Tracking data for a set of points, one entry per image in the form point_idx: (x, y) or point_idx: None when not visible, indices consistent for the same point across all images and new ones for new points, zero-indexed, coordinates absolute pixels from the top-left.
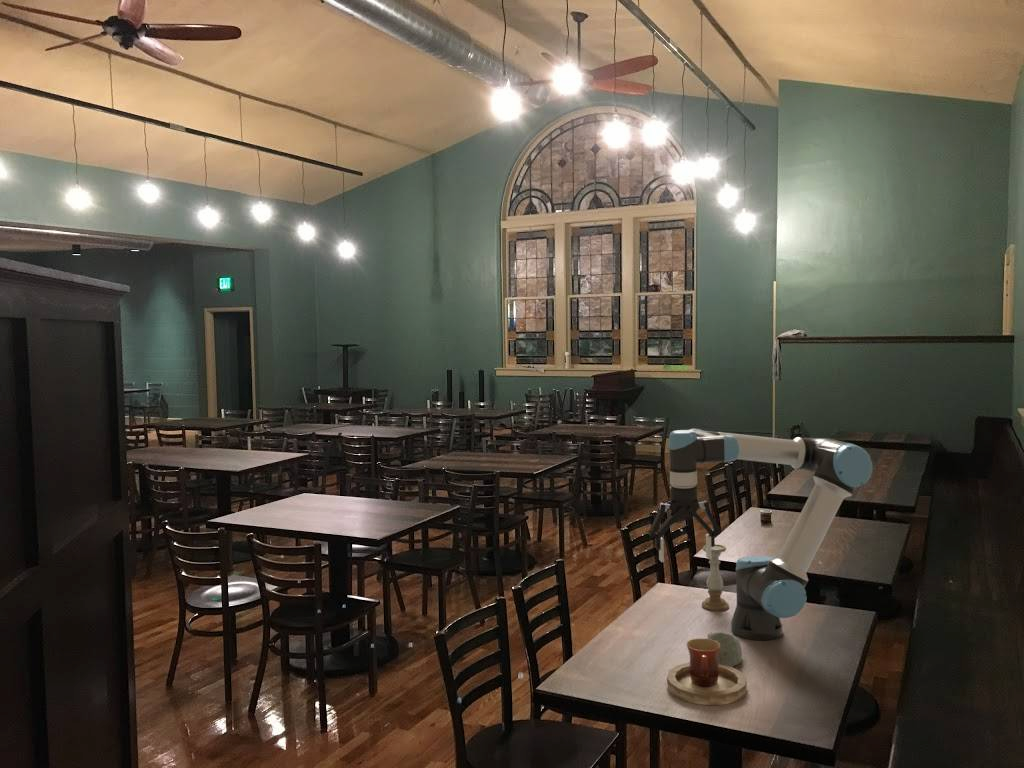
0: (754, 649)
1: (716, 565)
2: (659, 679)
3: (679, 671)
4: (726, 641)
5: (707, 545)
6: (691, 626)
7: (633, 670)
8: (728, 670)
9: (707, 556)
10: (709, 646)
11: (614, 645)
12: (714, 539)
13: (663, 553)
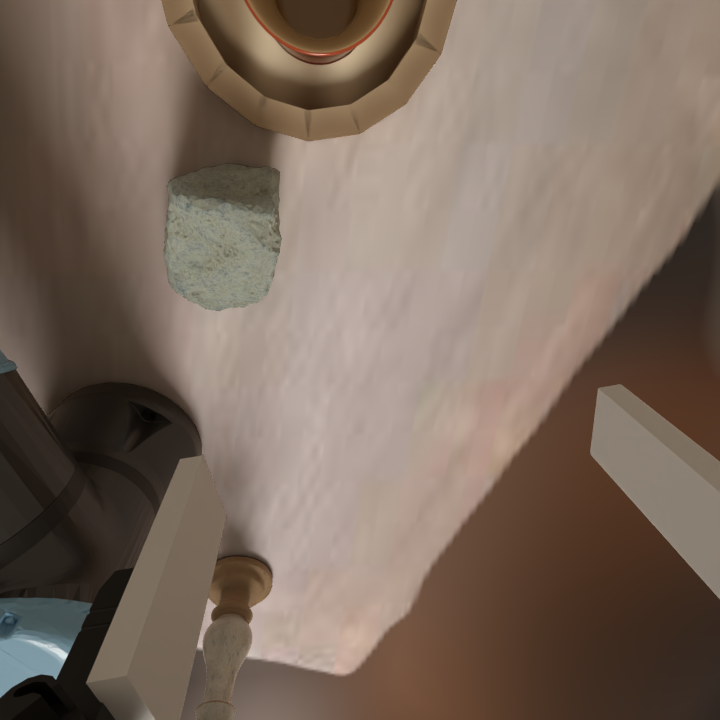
0: (133, 320)
1: (210, 698)
2: (463, 71)
3: (402, 58)
4: (207, 183)
5: (185, 582)
6: (311, 466)
7: (531, 153)
8: (219, 53)
9: (213, 498)
10: (285, 26)
11: (542, 340)
12: (67, 656)
13: (652, 432)
